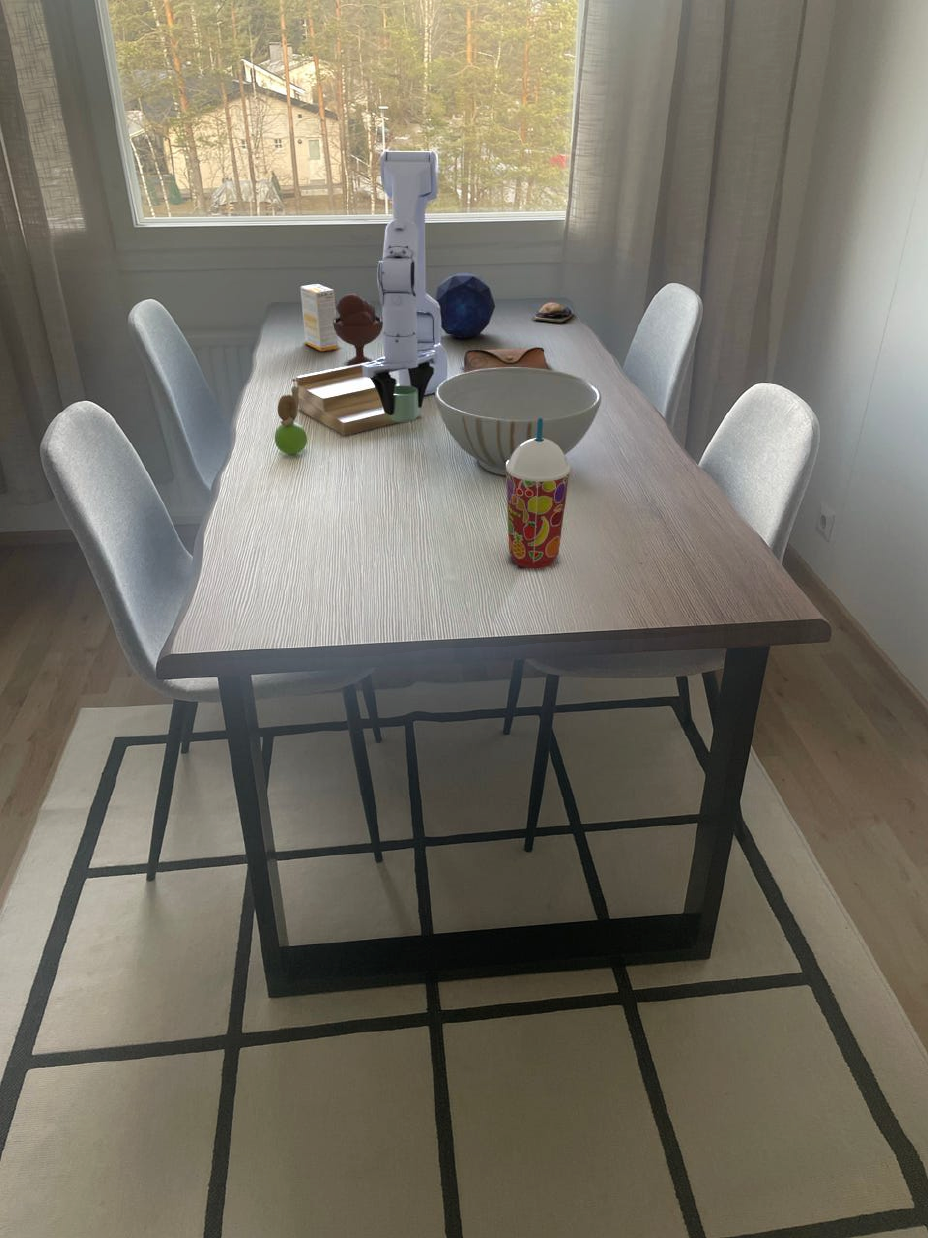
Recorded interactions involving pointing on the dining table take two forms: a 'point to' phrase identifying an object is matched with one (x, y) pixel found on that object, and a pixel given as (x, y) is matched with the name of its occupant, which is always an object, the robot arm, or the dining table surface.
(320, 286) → the supplement box
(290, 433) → the snail figurine
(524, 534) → the smoothie
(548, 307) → the sandwich
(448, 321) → the decorative orb
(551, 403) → the decorative bowl
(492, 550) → the dining table surface
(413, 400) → the green cup
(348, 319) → the ice cream bowl
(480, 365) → the sunglasses case
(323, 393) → the shelf
